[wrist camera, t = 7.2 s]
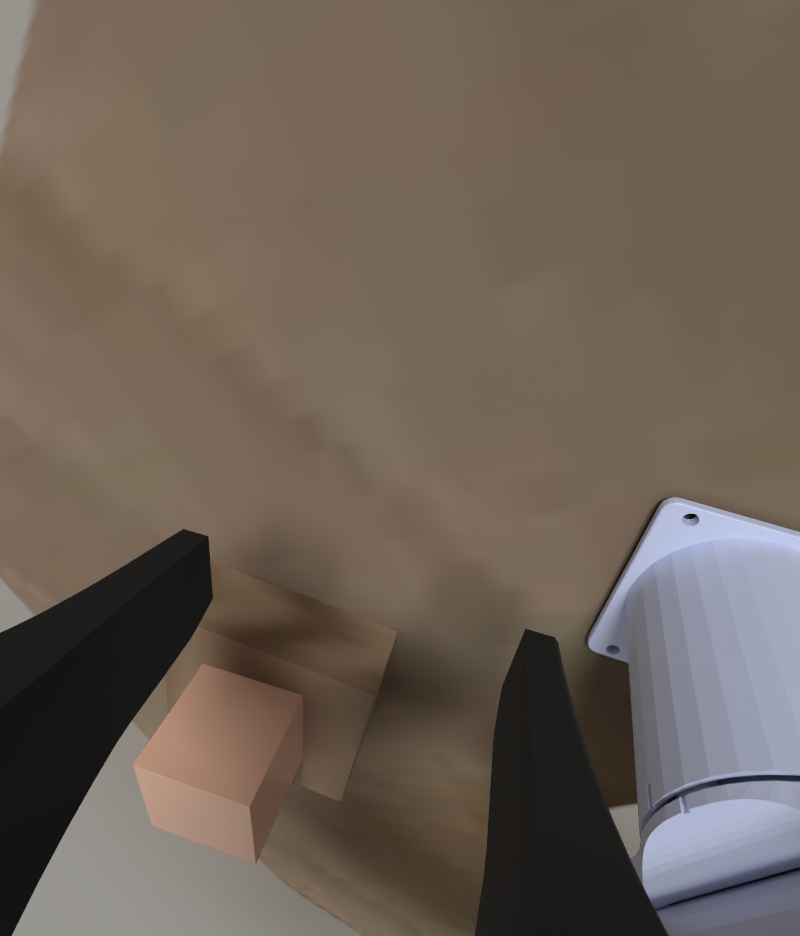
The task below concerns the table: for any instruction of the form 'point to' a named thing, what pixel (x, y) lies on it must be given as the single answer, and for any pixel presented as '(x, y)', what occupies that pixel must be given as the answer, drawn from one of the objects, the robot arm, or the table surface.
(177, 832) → the terracotta cube
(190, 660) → the walnut block
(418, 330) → the table surface
